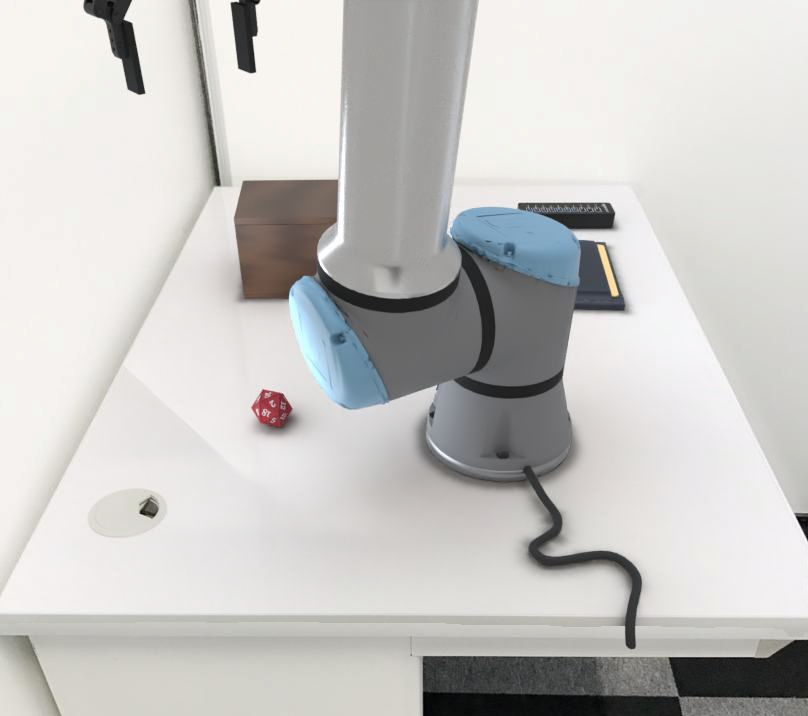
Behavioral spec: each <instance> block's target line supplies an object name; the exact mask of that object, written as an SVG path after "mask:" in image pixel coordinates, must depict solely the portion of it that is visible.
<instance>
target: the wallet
mask: <svg viewBox="0 0 808 716" xmlns="http://www.w3.org/2000/svg"><path fill="white" fill-rule="evenodd" d="M578 241H579V244H580V249H581V254H580V264H579V273H578V276H579V278H580V284H579V285H578V288H577V294H576V300H575V306H574V310H575V309H576V310H577V309H580V310H611V311H612V310H616V311H617V310H618V311H624V310H626V303H625V298H624V295H623V293H622V291H621V288H620V285H619V281H618V278H617V275H616V271H615V268H614V265H613V261H612V259H611V256H610V252H609V250H608V246H607V243H606V241H595V240H591V239H590V240H588V239H578Z"/></svg>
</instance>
